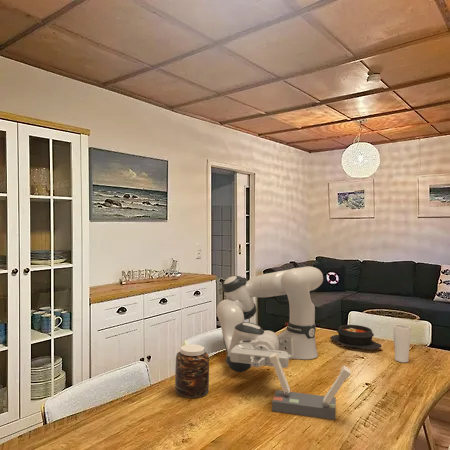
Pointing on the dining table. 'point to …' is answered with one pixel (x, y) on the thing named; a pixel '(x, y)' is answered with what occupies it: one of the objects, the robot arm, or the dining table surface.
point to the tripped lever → (280, 373)
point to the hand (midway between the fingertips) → (255, 364)
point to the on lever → (336, 385)
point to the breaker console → (303, 405)
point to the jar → (192, 372)
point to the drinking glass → (402, 342)
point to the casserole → (356, 337)
